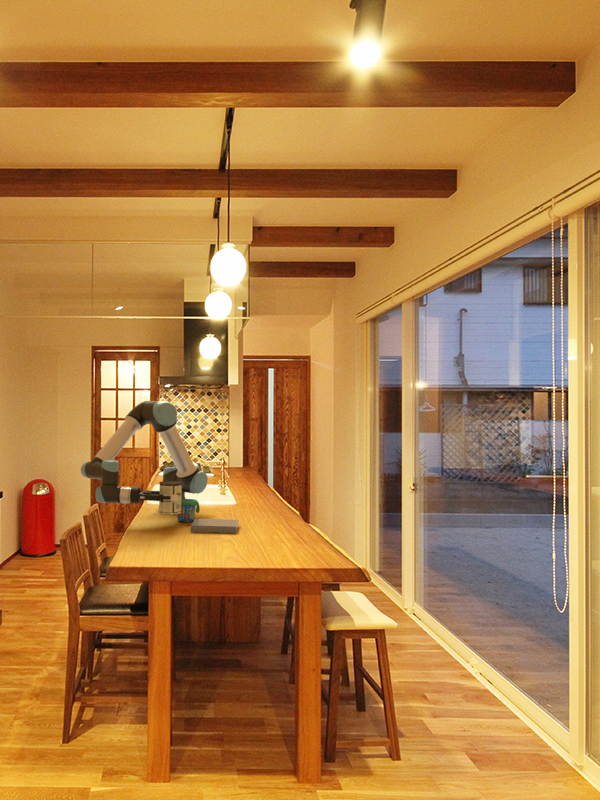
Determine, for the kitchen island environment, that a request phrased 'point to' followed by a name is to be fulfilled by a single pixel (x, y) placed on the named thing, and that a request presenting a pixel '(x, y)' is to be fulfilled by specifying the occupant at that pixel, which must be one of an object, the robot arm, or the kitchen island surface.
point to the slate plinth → (215, 525)
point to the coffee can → (170, 489)
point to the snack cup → (188, 510)
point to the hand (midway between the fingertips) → (179, 496)
